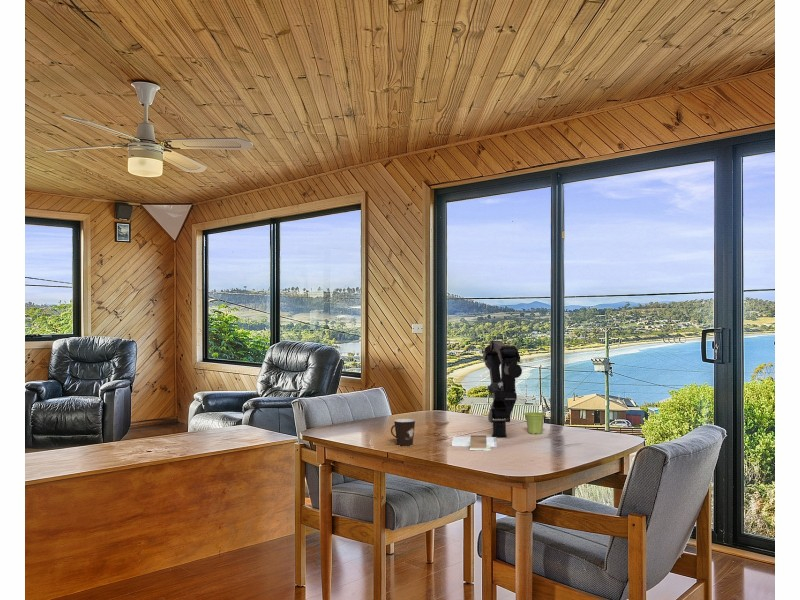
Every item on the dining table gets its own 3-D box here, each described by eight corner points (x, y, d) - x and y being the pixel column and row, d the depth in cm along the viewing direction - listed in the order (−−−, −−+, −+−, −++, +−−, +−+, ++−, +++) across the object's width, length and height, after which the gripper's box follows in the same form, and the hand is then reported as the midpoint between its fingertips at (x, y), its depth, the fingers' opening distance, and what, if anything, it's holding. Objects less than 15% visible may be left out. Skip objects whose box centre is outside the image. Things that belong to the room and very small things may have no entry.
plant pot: (520, 433, 277) (519, 413, 278) (532, 430, 284) (532, 411, 284) (537, 435, 270) (536, 415, 271) (550, 433, 277) (549, 413, 277)
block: (471, 445, 246) (471, 435, 247) (486, 445, 245) (486, 435, 246) (470, 447, 242) (470, 437, 242) (486, 448, 241) (485, 437, 241)
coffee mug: (410, 442, 258) (410, 418, 259) (418, 446, 250) (418, 421, 251) (384, 444, 254) (384, 420, 254) (391, 448, 246) (391, 423, 246)
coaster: (470, 446, 248) (470, 444, 248) (490, 446, 247) (490, 444, 247) (469, 450, 240) (469, 448, 240) (490, 450, 239) (490, 448, 239)
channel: (453, 441, 259) (453, 436, 259) (496, 441, 257) (496, 437, 257) (451, 446, 249) (451, 441, 249) (496, 446, 247) (496, 441, 247)
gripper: (488, 373, 266) (489, 410, 266) (488, 377, 248) (488, 417, 247) (515, 373, 265) (515, 410, 264) (516, 378, 246) (517, 417, 246)
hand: (508, 413), depth 255 cm, fingers open, 9 cm apart
